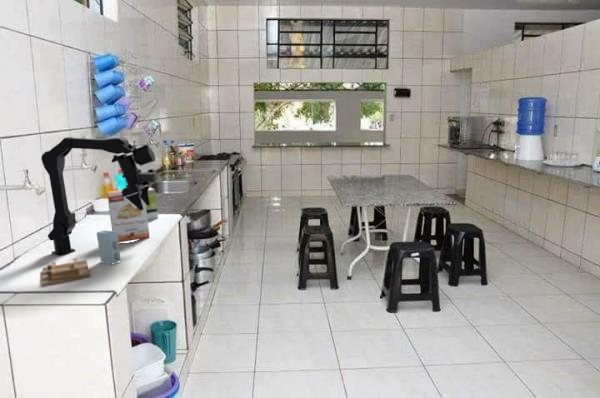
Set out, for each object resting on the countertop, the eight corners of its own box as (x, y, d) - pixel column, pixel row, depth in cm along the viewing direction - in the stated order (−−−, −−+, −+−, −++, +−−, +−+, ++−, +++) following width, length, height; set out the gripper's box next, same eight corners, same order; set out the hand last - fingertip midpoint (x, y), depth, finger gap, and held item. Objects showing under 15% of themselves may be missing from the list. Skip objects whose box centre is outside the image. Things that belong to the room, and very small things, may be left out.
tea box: (159, 218, 235) (155, 188, 232) (138, 222, 230) (134, 191, 227) (151, 213, 248) (148, 185, 245) (131, 216, 243) (127, 187, 240)
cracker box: (115, 244, 195) (107, 193, 190) (113, 240, 200) (106, 191, 196) (150, 237, 201) (144, 188, 197) (147, 234, 206) (141, 186, 202)
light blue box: (101, 261, 172) (96, 232, 170) (108, 259, 175) (104, 230, 173) (115, 264, 168) (111, 234, 166) (123, 262, 171) (119, 232, 169)
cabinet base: (43, 270, 167) (41, 262, 166) (86, 262, 173) (85, 254, 172) (42, 286, 151) (40, 277, 150) (90, 277, 157) (88, 268, 156)
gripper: (142, 166, 173) (159, 206, 176) (155, 159, 191) (170, 196, 194) (113, 176, 173) (130, 215, 176) (129, 168, 191) (144, 204, 194)
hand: (145, 207), depth 185 cm, fingers open, 9 cm apart
